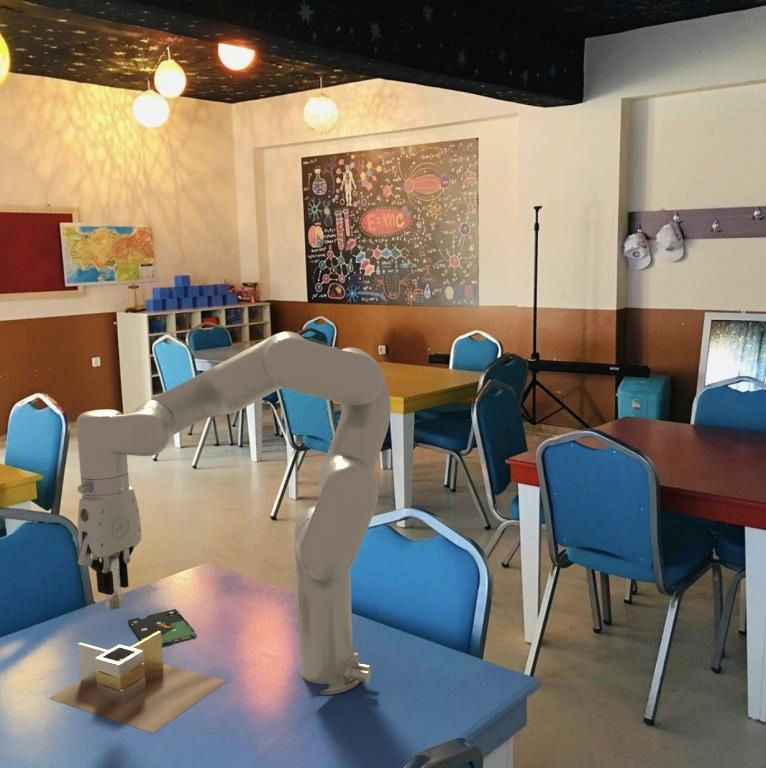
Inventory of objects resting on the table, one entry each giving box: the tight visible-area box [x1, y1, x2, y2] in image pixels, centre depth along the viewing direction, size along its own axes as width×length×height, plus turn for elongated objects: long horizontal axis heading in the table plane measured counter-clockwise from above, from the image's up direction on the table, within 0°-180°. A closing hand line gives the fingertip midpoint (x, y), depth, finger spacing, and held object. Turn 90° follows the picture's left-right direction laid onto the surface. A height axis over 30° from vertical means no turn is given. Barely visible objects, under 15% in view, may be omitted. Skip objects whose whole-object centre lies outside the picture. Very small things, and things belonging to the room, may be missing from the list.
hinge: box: [77, 631, 164, 704], centre depth 148 cm, size 13×13×7 cm
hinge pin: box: [105, 552, 123, 610], centre depth 141 cm, size 3×3×10 cm
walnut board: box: [49, 662, 228, 734], centre depth 145 cm, size 24×18×2 cm
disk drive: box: [127, 608, 198, 647], centre depth 168 cm, size 10×3×15 cm
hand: (113, 588), depth 141 cm, fingers closed on hinge pin, 2 cm apart
